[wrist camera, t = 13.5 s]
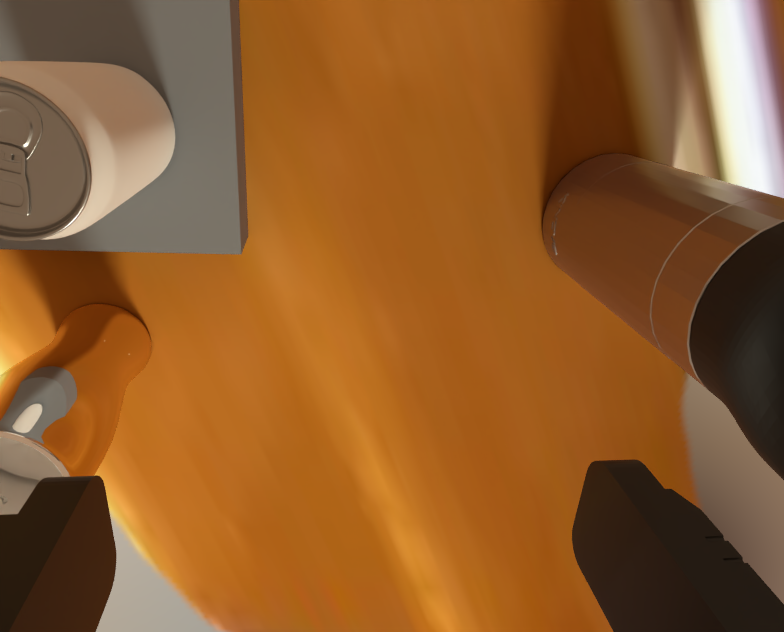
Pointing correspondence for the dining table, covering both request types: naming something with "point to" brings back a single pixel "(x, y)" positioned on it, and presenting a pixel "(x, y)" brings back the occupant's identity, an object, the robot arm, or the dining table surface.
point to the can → (75, 144)
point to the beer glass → (67, 400)
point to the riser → (184, 100)
